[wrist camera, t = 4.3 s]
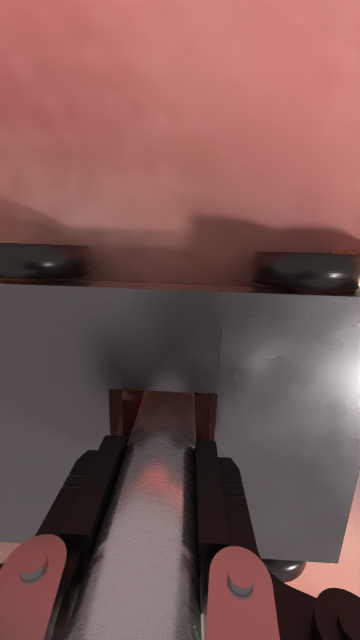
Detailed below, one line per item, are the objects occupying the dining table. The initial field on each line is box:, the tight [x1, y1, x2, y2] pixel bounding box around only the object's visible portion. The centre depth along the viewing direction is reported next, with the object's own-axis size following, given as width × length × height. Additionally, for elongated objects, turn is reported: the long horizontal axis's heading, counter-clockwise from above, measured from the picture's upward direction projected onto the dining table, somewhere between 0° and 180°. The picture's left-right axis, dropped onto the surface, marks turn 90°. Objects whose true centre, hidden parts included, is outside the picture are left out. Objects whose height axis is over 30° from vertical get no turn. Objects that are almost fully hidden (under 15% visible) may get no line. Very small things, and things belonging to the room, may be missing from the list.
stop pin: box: [64, 390, 202, 640], centre depth 9 cm, size 3×3×12 cm
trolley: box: [0, 243, 360, 583], centre depth 13 cm, size 18×15×4 cm
